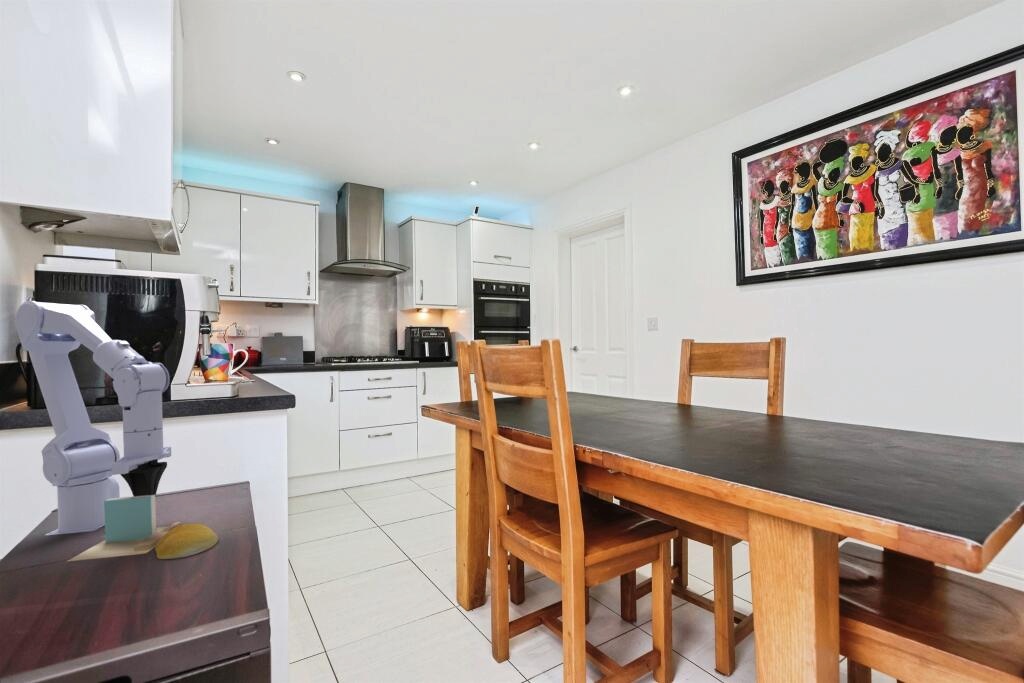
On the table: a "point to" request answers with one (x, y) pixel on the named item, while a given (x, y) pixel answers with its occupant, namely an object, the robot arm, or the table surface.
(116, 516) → the tile
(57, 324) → the robot arm
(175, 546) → the bread roll
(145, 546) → the spatula
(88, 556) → the board
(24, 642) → the table surface
